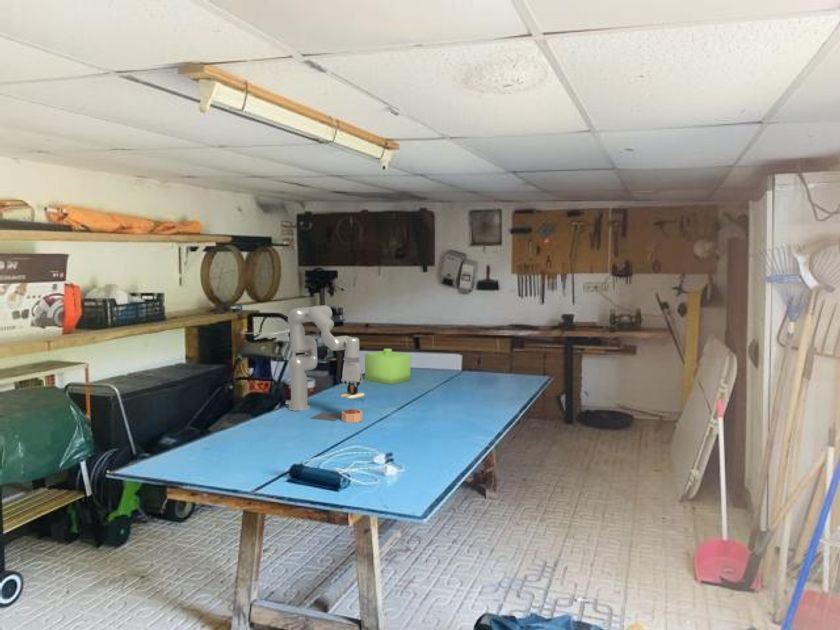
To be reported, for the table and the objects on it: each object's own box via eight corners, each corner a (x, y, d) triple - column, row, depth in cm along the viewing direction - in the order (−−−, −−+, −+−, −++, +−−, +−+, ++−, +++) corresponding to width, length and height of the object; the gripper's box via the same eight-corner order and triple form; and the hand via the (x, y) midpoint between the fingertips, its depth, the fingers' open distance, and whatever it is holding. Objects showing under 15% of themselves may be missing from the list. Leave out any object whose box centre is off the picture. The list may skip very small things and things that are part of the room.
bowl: (340, 423, 355) (340, 413, 355) (345, 417, 366) (345, 408, 365) (359, 424, 354) (359, 414, 353) (363, 418, 364) (363, 409, 364)
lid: (336, 397, 354) (336, 384, 353) (346, 392, 366) (346, 380, 366) (358, 399, 350) (358, 386, 350) (367, 394, 362) (367, 382, 362)
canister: (410, 380, 476) (410, 349, 474) (390, 385, 459) (391, 352, 457) (384, 376, 491) (384, 345, 489) (364, 380, 475) (365, 348, 473)
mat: (309, 419, 362) (309, 418, 362) (321, 413, 376) (321, 412, 376) (334, 422, 357) (334, 421, 357) (345, 415, 371) (345, 414, 371)
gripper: (335, 360, 355) (335, 393, 357) (363, 362, 350) (363, 395, 352) (341, 358, 363) (341, 391, 364) (368, 360, 358) (368, 393, 359)
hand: (352, 393), depth 358 cm, fingers closed on lid, 2 cm apart
